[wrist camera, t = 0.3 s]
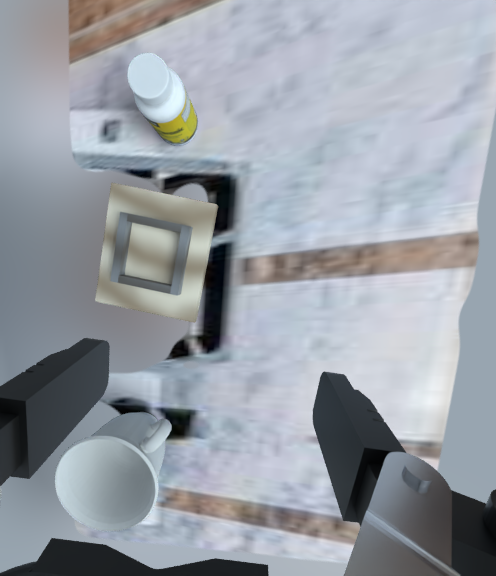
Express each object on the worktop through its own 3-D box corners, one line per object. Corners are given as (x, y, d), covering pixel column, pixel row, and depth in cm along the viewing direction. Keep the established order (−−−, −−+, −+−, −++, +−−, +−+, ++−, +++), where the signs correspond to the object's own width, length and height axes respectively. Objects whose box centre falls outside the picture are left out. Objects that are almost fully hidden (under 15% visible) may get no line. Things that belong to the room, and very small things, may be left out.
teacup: (213, 421, 39) (198, 477, 30) (143, 480, 41) (106, 552, 31) (157, 362, 39) (121, 399, 29) (87, 425, 40) (31, 480, 30)
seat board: (116, 184, 36) (104, 179, 33) (217, 206, 36) (214, 201, 33) (100, 299, 38) (88, 303, 35) (196, 320, 38) (191, 325, 35)
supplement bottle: (154, 141, 35) (114, 98, 25) (162, 98, 34) (124, 36, 25) (194, 151, 35) (169, 111, 25) (203, 108, 34) (181, 49, 25)
